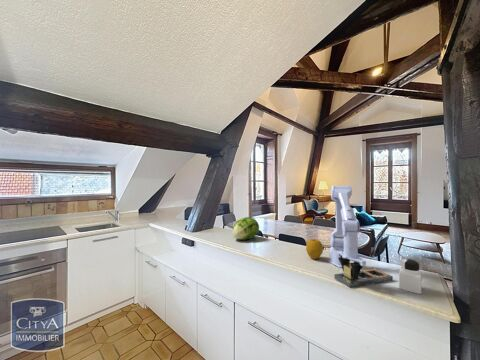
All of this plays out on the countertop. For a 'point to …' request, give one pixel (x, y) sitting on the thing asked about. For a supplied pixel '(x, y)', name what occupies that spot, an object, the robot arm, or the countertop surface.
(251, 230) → the lettuce
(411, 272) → the medicine bottle
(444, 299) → the countertop surface
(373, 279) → the grey rectangular frame
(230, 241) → the countertop surface
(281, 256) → the countertop surface
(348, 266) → the tan rectangular block
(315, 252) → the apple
